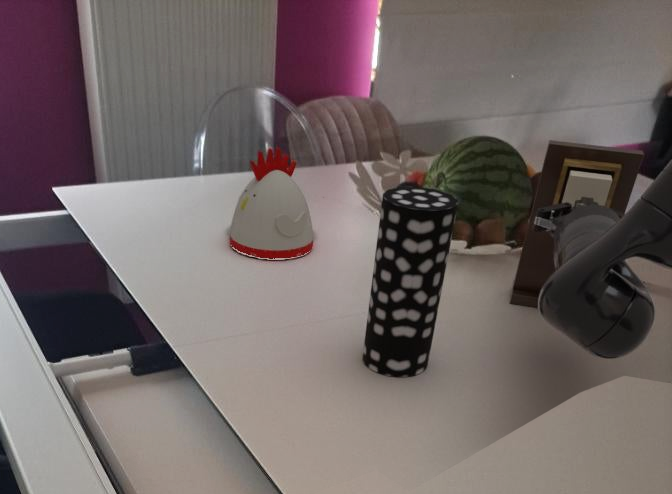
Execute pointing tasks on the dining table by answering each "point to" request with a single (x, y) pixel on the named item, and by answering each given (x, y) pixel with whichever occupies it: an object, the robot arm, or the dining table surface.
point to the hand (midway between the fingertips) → (584, 205)
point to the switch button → (587, 187)
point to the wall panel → (550, 191)
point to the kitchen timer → (272, 212)
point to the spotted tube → (408, 279)
